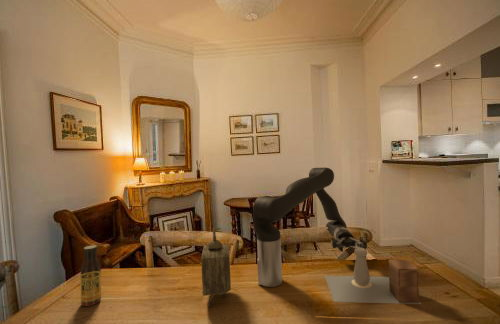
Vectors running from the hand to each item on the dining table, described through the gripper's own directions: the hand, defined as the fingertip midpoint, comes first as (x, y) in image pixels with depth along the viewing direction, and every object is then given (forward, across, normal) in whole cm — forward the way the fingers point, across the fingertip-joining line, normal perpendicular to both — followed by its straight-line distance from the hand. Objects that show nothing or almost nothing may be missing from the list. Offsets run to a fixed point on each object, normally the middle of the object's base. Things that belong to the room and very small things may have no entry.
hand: (352, 249), depth 105 cm
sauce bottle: (+27, -97, +9) cm, 101 cm away
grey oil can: (+22, -52, +9) cm, 57 cm away
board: (+14, +1, +9) cm, 17 cm away
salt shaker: (+11, 0, +9) cm, 14 cm away
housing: (+19, +11, +9) cm, 24 cm away
